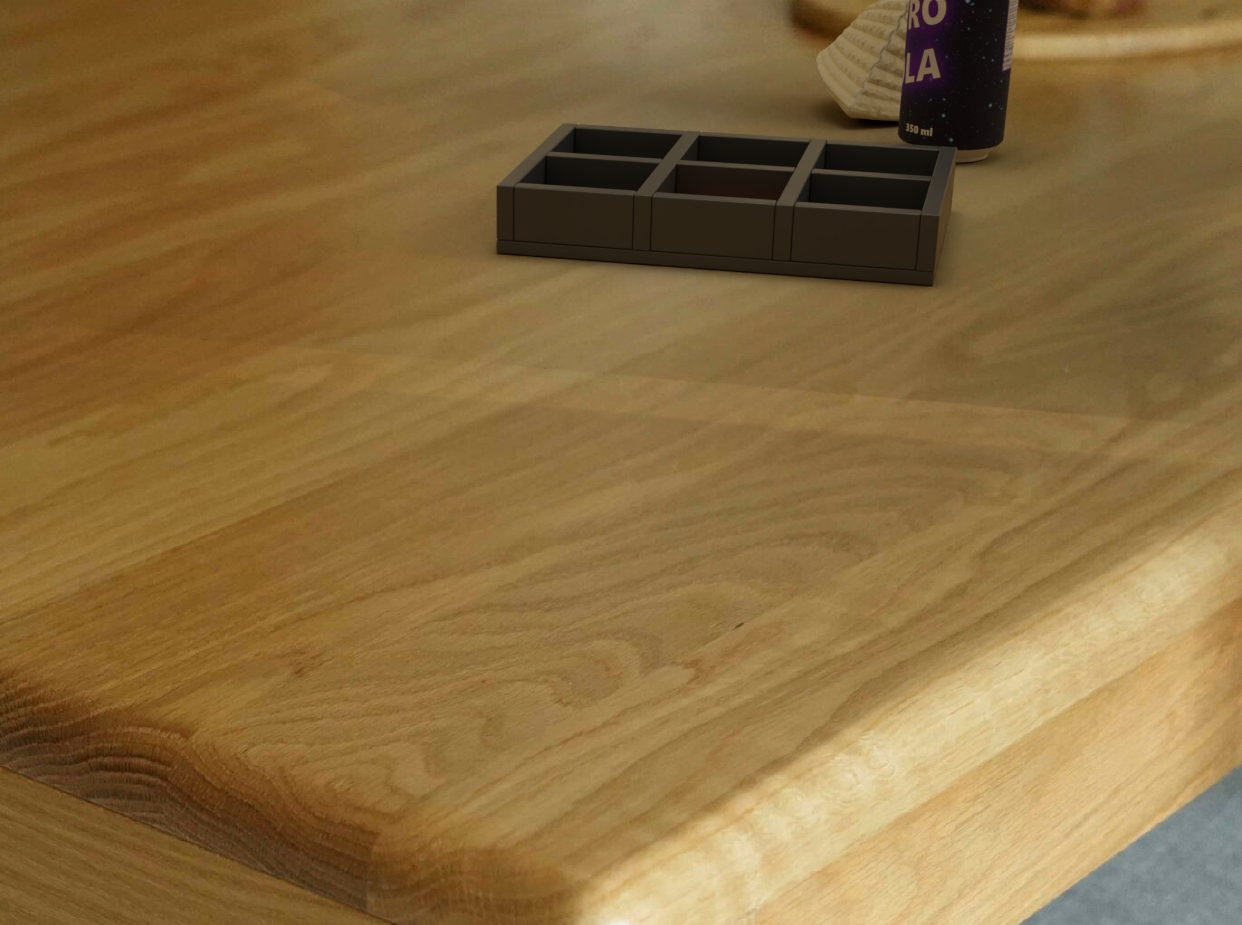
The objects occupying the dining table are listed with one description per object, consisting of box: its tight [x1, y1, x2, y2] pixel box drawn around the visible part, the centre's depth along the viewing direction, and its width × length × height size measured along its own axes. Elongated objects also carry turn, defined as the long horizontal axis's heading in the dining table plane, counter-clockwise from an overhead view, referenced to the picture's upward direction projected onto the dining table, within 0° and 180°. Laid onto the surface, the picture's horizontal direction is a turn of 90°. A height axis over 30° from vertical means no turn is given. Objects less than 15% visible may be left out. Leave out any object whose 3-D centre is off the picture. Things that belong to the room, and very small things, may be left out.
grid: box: [495, 122, 957, 286], centre depth 97 cm, size 20×13×3 cm
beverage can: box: [897, 0, 1019, 163], centre depth 110 cm, size 6×6×12 cm
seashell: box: [815, 0, 909, 122], centre depth 121 cm, size 8×8×8 cm
